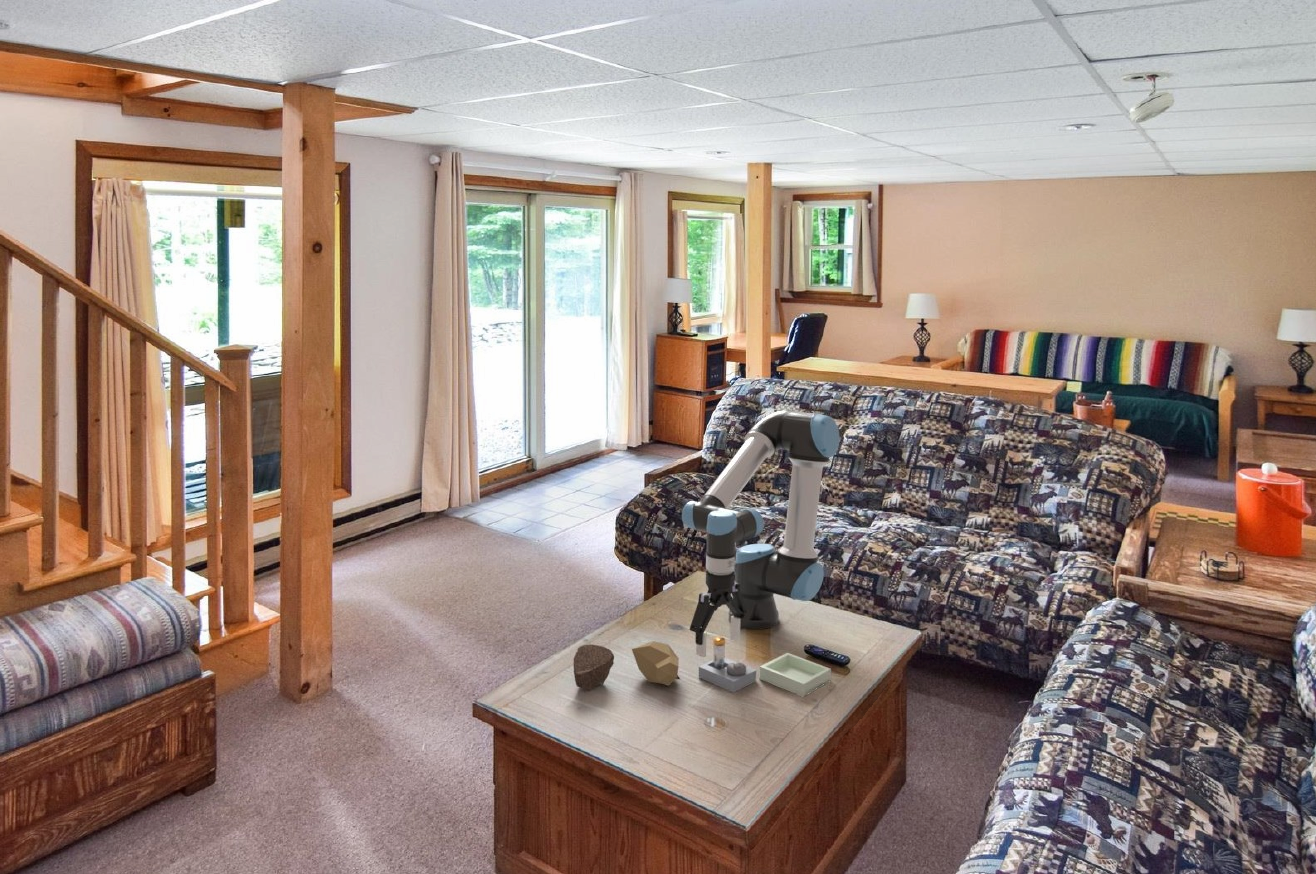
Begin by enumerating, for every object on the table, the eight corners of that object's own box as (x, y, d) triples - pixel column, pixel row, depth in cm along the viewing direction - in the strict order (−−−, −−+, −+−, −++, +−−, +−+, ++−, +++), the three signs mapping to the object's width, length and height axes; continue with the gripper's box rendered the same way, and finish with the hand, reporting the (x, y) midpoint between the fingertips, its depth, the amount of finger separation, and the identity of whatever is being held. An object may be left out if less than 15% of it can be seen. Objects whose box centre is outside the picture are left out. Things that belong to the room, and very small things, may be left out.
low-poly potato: (636, 670, 251) (617, 666, 241) (656, 634, 252) (638, 629, 242) (680, 699, 244) (663, 697, 234) (701, 662, 245) (684, 658, 235)
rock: (587, 686, 231) (561, 656, 235) (577, 705, 238) (552, 676, 242) (622, 659, 239) (596, 631, 243) (612, 679, 246) (587, 651, 250)
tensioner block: (698, 677, 247) (698, 657, 246) (720, 666, 253) (721, 647, 252) (733, 692, 239) (734, 672, 237) (755, 680, 245) (756, 661, 244)
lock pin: (710, 675, 248) (711, 639, 246) (717, 671, 250) (718, 636, 248) (719, 679, 246) (719, 642, 244) (726, 675, 248) (727, 639, 246)
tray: (759, 679, 246) (759, 666, 245) (787, 664, 254) (787, 652, 254) (803, 696, 236) (803, 684, 236) (830, 681, 245) (830, 668, 244)
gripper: (699, 585, 231) (697, 666, 235) (761, 563, 248) (759, 638, 252) (676, 578, 236) (675, 657, 240) (740, 556, 253) (737, 630, 257)
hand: (718, 648), depth 246 cm, fingers open, 13 cm apart
